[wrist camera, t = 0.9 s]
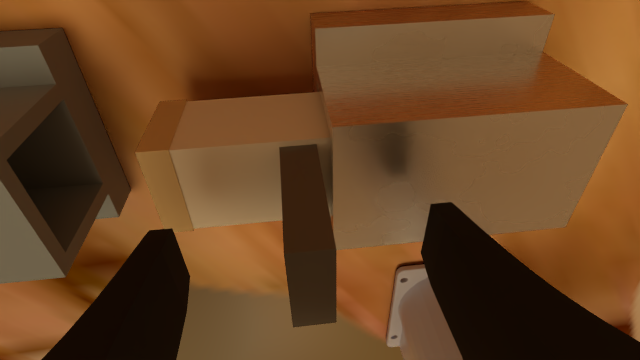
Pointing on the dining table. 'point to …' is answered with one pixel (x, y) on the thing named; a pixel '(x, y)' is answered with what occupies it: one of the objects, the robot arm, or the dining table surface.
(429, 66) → the beige stepped block
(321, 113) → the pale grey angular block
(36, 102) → the slate stepped block
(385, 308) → the dining table surface
